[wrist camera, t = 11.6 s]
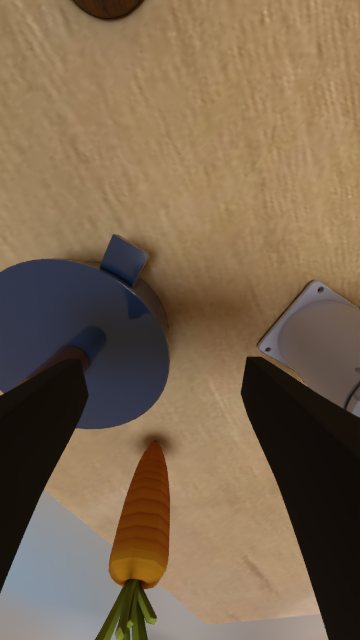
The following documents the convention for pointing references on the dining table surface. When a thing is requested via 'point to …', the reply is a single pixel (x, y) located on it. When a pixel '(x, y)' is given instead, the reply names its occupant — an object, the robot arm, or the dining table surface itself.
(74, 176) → the dining table surface
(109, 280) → the lid
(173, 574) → the dining table surface
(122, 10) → the mortar and pestle
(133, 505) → the carrot
